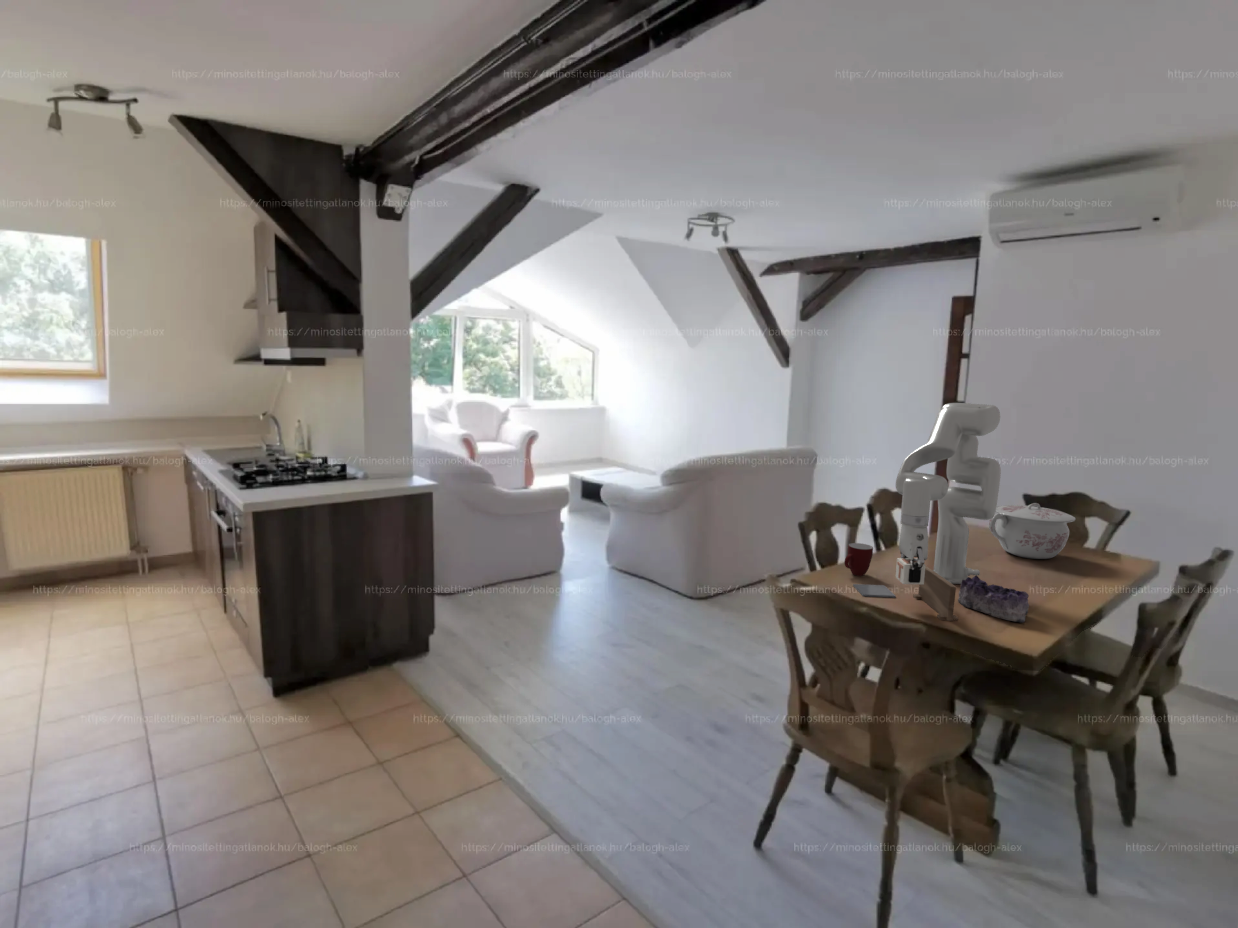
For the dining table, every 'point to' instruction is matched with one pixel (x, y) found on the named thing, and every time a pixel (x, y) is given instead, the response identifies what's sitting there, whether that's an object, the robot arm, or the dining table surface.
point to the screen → (938, 594)
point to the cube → (907, 571)
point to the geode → (994, 599)
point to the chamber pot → (1031, 530)
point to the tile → (874, 590)
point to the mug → (859, 558)
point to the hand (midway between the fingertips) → (909, 577)
